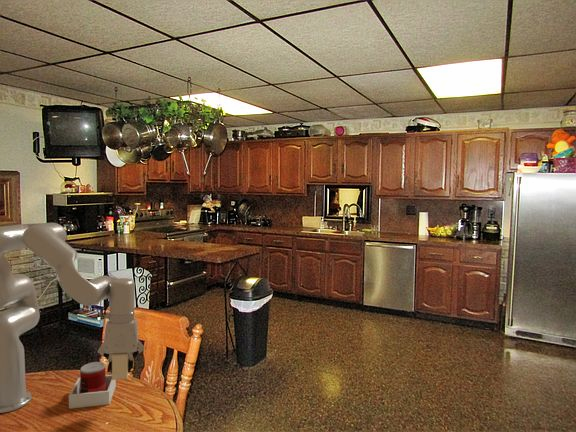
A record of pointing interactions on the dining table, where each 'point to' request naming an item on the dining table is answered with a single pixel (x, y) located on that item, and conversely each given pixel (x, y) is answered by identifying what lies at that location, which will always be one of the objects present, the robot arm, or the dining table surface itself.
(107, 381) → the box
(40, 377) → the dining table surface
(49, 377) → the dining table surface
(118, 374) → the plain beige cuboid
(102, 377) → the canned food
